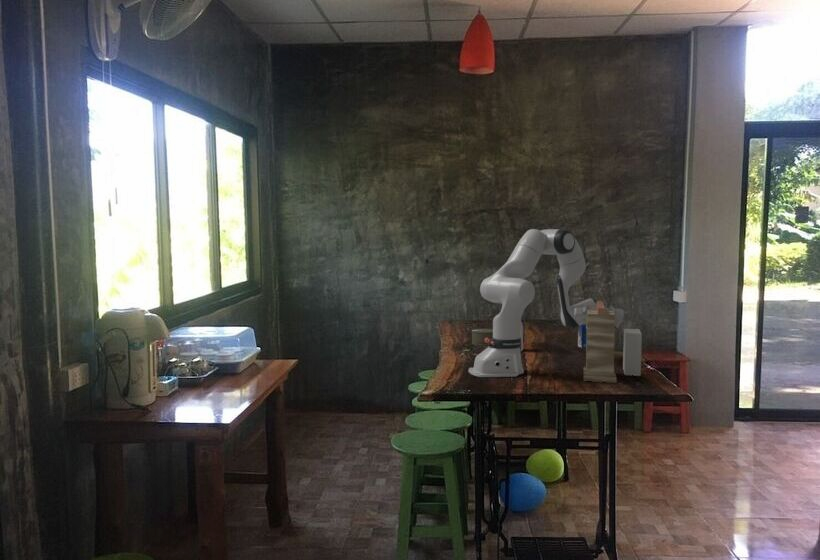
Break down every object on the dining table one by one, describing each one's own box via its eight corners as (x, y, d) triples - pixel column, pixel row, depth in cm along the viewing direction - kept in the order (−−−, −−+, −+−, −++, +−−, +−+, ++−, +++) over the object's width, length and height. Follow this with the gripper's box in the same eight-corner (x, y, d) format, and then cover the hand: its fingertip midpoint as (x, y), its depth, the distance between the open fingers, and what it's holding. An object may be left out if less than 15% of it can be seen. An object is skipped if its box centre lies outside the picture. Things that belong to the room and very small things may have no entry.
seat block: (640, 375, 253) (641, 333, 252) (624, 375, 255) (625, 333, 254) (638, 369, 265) (639, 329, 264) (622, 368, 266) (623, 328, 265)
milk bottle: (522, 352, 303) (523, 310, 301) (506, 351, 304) (506, 310, 303) (523, 349, 310) (523, 308, 309) (507, 348, 312) (507, 308, 310)
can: (494, 346, 320) (494, 332, 319) (470, 345, 322) (470, 331, 321) (495, 341, 332) (495, 328, 331) (472, 341, 334) (472, 328, 333)
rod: (604, 314, 242) (604, 308, 241) (597, 314, 242) (597, 307, 242) (602, 306, 266) (602, 300, 265) (596, 306, 266) (596, 300, 266)
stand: (616, 383, 242) (617, 315, 239) (583, 381, 245) (584, 314, 243) (613, 372, 259) (615, 309, 257) (583, 371, 262) (584, 308, 260)
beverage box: (603, 348, 312) (604, 303, 310) (581, 348, 312) (582, 303, 310) (599, 345, 319) (600, 302, 317) (577, 345, 319) (578, 302, 317)
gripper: (573, 312, 280) (573, 299, 268) (622, 314, 275) (624, 301, 263) (573, 325, 278) (573, 313, 266) (622, 327, 273) (624, 315, 261)
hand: (599, 307), depth 264 cm, fingers open, 8 cm apart
